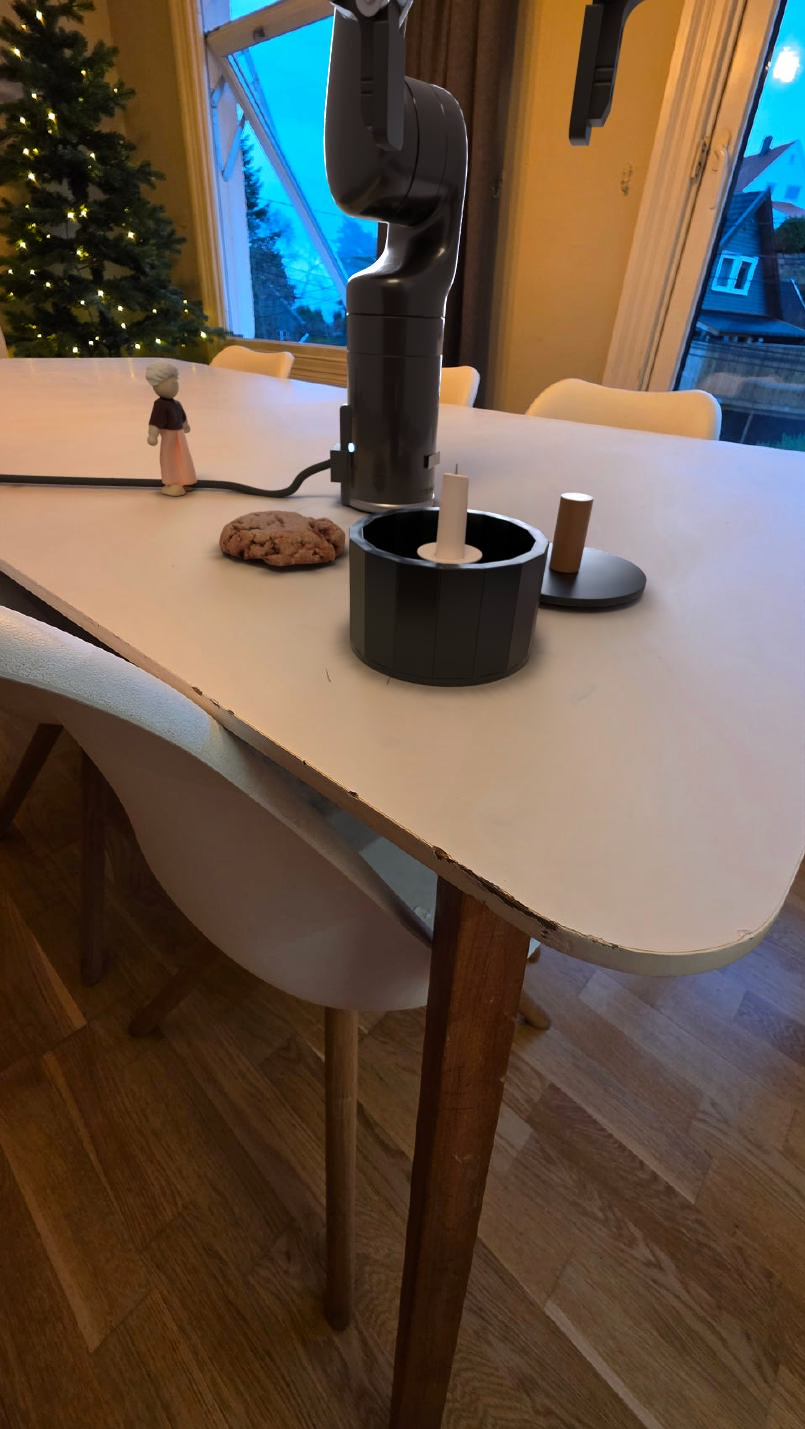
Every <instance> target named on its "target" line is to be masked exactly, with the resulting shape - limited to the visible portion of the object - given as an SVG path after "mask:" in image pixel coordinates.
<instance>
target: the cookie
mask: <svg viewBox="0 0 805 1429" xmlns="http://www.w3.org/2000/svg"><path fill="white" fill-rule="evenodd" d="M218 545H219V547H220V551H221V552H222V553H225V554H229V555H231V556H232V557H233V556H234V557H236V558H237V557H238V558H239V559H243V560H249V559H262V560H263V561H264V563H266V564H268V565H270V566H271V565H272V566H277V567H286V566H291V565H299V564H301V565H303V564H319V563H321V564H323V563H328V561H332V562H334V561H335V559H336V558H337V557H338V556H340V555H342V553H343V552H344V549H345V546H346V532H345V531H344V530H343V528H341V527H340V526H339V525H338V524H336V523H335V522H334V521H333V520H331V519H329V518H327V517H321V518H314V516H304V515H302V514H301V513H299V512H296V511H287V510H265V511H253V512H249V513H247V514H243V515H241V516H238V517H236V518H234V519H233V520H231V521H229V522H228V523H226V524H225V525H224V526H223V528H222V530H221V532H220V536H219V540H218Z"/></svg>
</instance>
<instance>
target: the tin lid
mask: <svg viewBox="0 0 805 1429" xmlns="http://www.w3.org/2000/svg"><path fill="white" fill-rule="evenodd" d="M593 505H594V497H593V496H592V495H588V494H586V493H580V492H565V493H562V494H561V495H560V498H559V505H558V511H557V517H556V522H555V528H554V534H553V540H552V542H549V549H548V555H547V561H546V567H545V573H544V579H543V585H542V590H541V596H540V602H542V603H548V604H552V605H560V606H568V607H584V608H585V607H588V608H589V607H593V608H595V607H609V606H616V605H621V604H625V603H628V602H631V601H633V600H635V599H638V598H639V597H640V596H641V595H642V594H643V593H644V592H645V589H646V586H647V582H648V581H647V576H646V573H645V572H644V571H643V570H642V569H641V568H640V567H639V566H638V565H636V564H635V563H633V562H632V561H629V560H627V559H625V558H623V557H622V556H621V557H620V556H618V555H615V554H613V553H610V552H607V551H603V550H600V549H596V548H593V547H592V548H591V547H588V546H585V545H586V539H587V536H588V535H587V534H588V530H589V524H590V521H591V520H590V519H591V515H592V509H593Z"/></svg>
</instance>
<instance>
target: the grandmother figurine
mask: <svg viewBox="0 0 805 1429" xmlns="http://www.w3.org/2000/svg"><path fill="white" fill-rule="evenodd" d="M179 376H180V371H179V368H178V367H177V365H176V364H175V363H173V362H171V361H170V360H167V359H163V358H160V359H159V358H158V359H157V360H155V361H153V362H151V364H150V365H149V366H147V367H146V373H145V380H146V381H147V382H148V384H149V385H150V386H152V389H153V391H154V393H155V394H156V395H157V396H158V398H157V399H155V400H154V401H153V405H152V406H153V407H152V410H151V413H150V417H149V421H148V430H147V433H148V436H147V438H146V442H147V444H148V445H149V446H152V447H156V446H157V445H158V443H159V440H158V438H159V436H160V438H161V439H160V444H159V445H160V446H159V465H160V475H161V479H162V483H164V484H165V486H164V487H163V488H161V490H160V493H161V494H163V495H166V496H172V497H173V496H174V497H176V496H177V497H179V496H182V495H183V496H184V495H186V493H187V492H186V491H193V490H195V489H196V488H191V487H183V485H191V484H194V483H197V480H198V477H197V472H196V468H195V464H194V461H193V457H192V454H191V450H190V447H189V442H188V439H187V435H186V434H189V433H190V432H191V430H192V429H191V426H190V424H189V421H188V416H187V413H186V411H185V409H184V407H183V405H182V403H181V402H180V401H179V400H177V399H175V397H176V396H177V395H178V393H179V391H180V384H179V379H180V378H179Z"/></svg>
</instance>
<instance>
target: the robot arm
mask: <svg viewBox="0 0 805 1429" xmlns="http://www.w3.org/2000/svg"><path fill="white" fill-rule="evenodd" d="M414 1H415V0H327V2H329V3H330V4H331V5H332V6H333V7H334V14H333V15H334V16H333V25H332V35H331V43H330V44H331V45H330V54H329V64H328V76H327V86H326V98H325V106H324V107H325V109H324V126H323V127H324V128H323V155H324V167H325V175H326V181H327V184H328V188H329V191H330V194H331V197H332V199H333V201H334V203H335V204H336V206H337V207H338V209H339V210H341V212H342V213H343V214H345V215H347V217H348V216H349V217H351V218H355V219H359V220H362V221H363V220H364V221H369V222H378V223H385V224H387V233H386V234H387V235H386V242H385V247H384V250H383V253H382V254H381V256H380V257H379V258H378V260H376V262H375V263H373V264H372V265H371V266H369V267H367V268H366V269H363V270H361V271H359V272H357V273H355V274H353V275H352V276H351V277H350V278H349V279H348V281H347V283H346V287H345V288H346V290H345V305H346V306H345V312H346V316H345V317H346V403H344V404H342V405H340V406H339V441H337V442H336V443H335V444H334V445H333V446H332V448H330V449H329V458H328V459H326V460H323V461H320V462H318V463H313V464H312V465H310V466H308V467H305V468H304V469H303V470H301V471H300V472H298V474H296V476H295V478H294V479H293V480H292V482H291V483H290V485H288V486H287V487H284V488H282V489H275V490H274V489H273V490H271V489H264V488H258V487H255V486H251V485H248V484H243V483H239V482H234V481H229V480H217V479H215V480H214V479H197V483H194V484H191V485H183V487H191V488H195V489H215V490H227V491H233V492H237V493H242V494H246V495H251V496H255V497H256V496H257V497H265V498H272V499H273V498H275V499H283V498H286V497H289V496H292V495H294V494H295V493H297V492H298V491H299V490H300V488H301V486H302V485H303V483H304V482H305V481H306V480H307V479H308V478H310V477H312V476H313V475H315V474H317V473H321V472H324V471H326V470H329V471H330V473H329V474H330V475H329V476H330V483H338V484H339V483H340V504H341V505H344V506H345V505H346V506H350V507H351V508H352V507H353V508H354V509H357V510H360V511H363V512H367V513H368V512H370V513H373V514H375V513H379V512H383V511H386V510H393V509H403V508H414V507H434V503H435V494H434V491H435V472H436V466H437V465H439V464H440V463H441V462H440V461H441V450H439V451H437V443H438V442H437V441H438V428H439V427H438V426H439V413H440V397H441V382H442V381H441V380H442V367H443V366H442V364H443V363H442V362H443V349H444V335H445V334H444V333H445V316H446V305H447V299H448V295H449V293H450V290H451V287H452V284H453V283H454V279H455V275H456V270H457V264H458V256H459V246H460V238H461V237H460V236H461V229H462V221H463V220H462V219H463V210H464V203H465V202H464V201H465V194H466V183H467V173H468V138H467V128H466V123H465V119H464V115H463V111H462V109H461V106H460V104H459V102H458V101H457V100H456V98H455V97H454V95H452V94H451V93H450V92H449V91H447V90H446V89H445V88H442V87H439V86H438V85H435V84H432V83H429V82H426V81H423V80H419V79H416V78H413V77H410V76H407V75H406V50H407V47H406V46H407V40H406V38H405V37H406V30H407V22H408V12H409V10H410V9H411V7H412V5H413V3H414ZM645 1H646V0H592V2H591V4H585V8H584V15H583V22H582V30H581V37H580V45H579V51H578V58H577V66H576V72H575V80H574V87H573V95H572V96H573V97H572V103H571V110H570V118H569V124H568V125H569V126H568V142H569V143H570V145H571V147H589V145H590V142H591V137H592V130H593V128H604V126H605V124H606V122H607V120H608V118H609V116H610V114H611V111H612V105H613V99H614V93H615V87H616V79H617V75H618V74H617V73H618V68H619V61H620V55H621V49H622V42H623V39H624V38H623V36H624V31H625V27H626V23H627V21H628V18H629V17H630V16H631V13H632V12H633V11H634V10H635V8H636V7H637V6H639V5H640V4H642V3H643V2H645ZM0 484H23V485H24V484H25V485H27V484H28V485H49V486H50V485H51V486H54V485H55V486H84V487H87V486H88V487H121V488H122V487H125V488H161V489H162V488H163V487H164V486H165V484H164V483H162V478H136V477H135V478H133V477H132V478H131V477H93V476H91V477H90V476H61V475H31V474H7V473H6V474H3V473H0Z"/></svg>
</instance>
